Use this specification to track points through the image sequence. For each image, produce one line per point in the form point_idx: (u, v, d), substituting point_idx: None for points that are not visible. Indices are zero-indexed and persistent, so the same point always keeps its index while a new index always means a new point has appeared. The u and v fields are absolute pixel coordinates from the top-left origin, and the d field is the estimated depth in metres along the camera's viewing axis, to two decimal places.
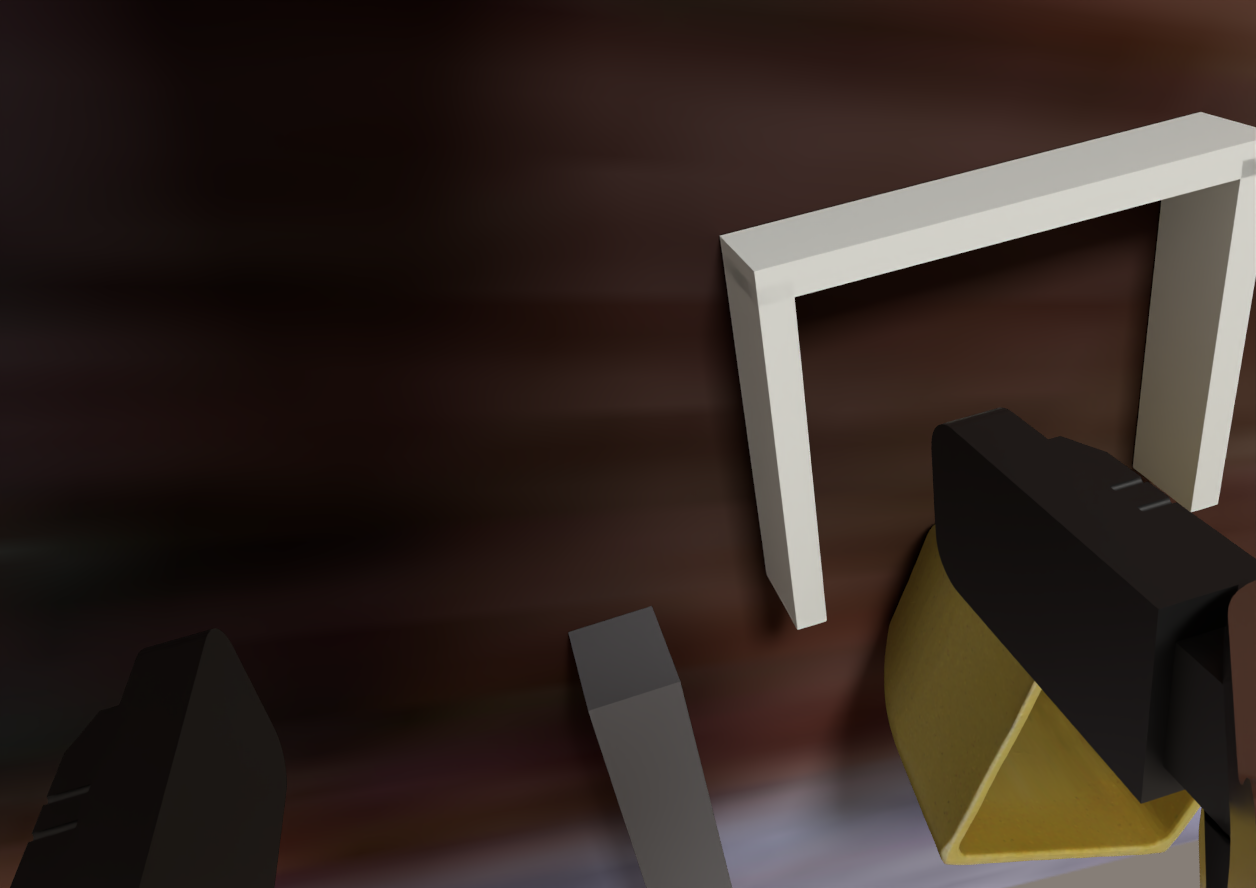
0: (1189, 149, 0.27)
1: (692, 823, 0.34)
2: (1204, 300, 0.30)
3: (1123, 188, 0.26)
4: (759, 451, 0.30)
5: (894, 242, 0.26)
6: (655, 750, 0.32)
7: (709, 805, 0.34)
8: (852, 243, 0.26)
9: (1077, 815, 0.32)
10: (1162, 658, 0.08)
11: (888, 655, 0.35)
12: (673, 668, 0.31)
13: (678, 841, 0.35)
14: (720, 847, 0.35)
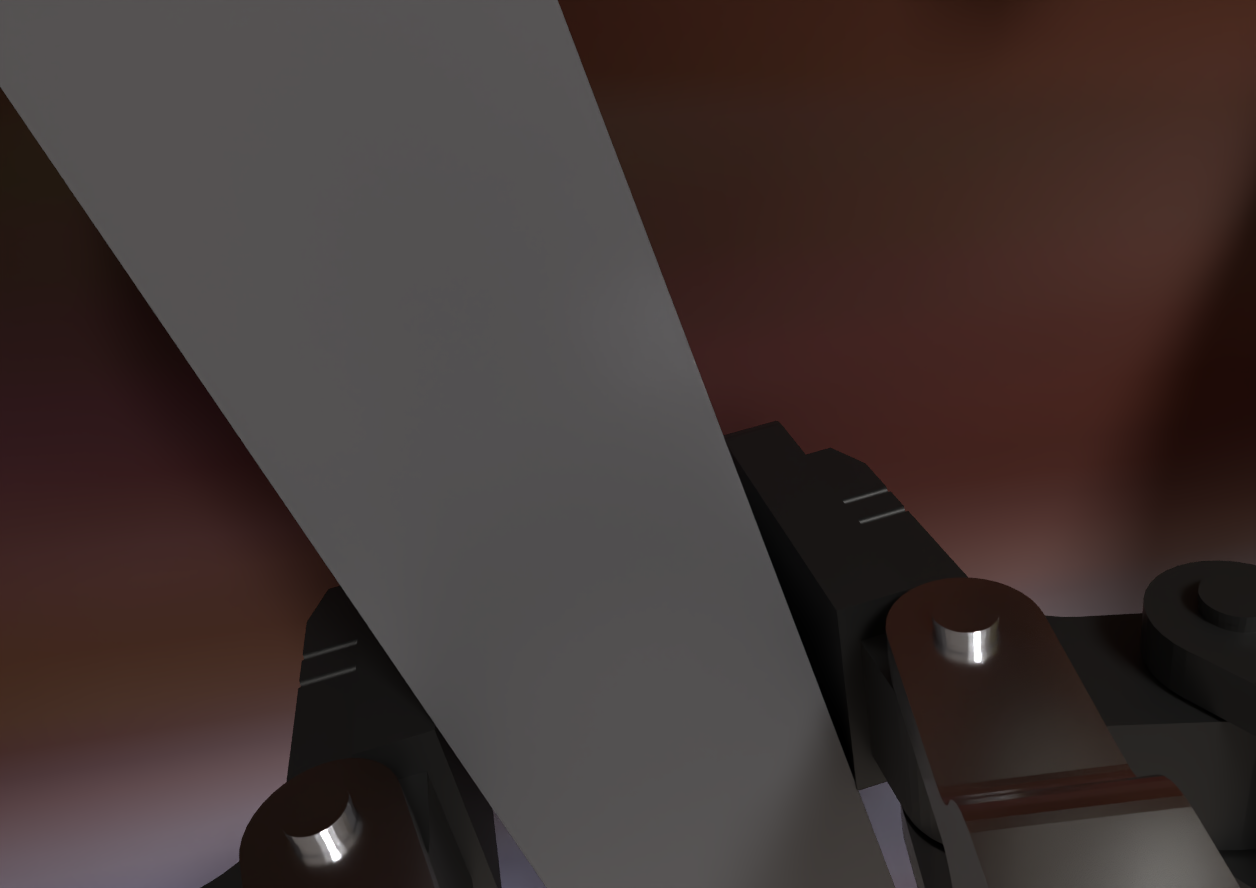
0: None
1: (688, 622, 0.08)
2: None
3: None
4: None
5: None
6: (392, 180, 0.06)
7: (748, 526, 0.08)
8: None
9: None
10: (850, 655, 0.09)
11: None
12: None
13: (648, 712, 0.08)
14: (827, 725, 0.09)
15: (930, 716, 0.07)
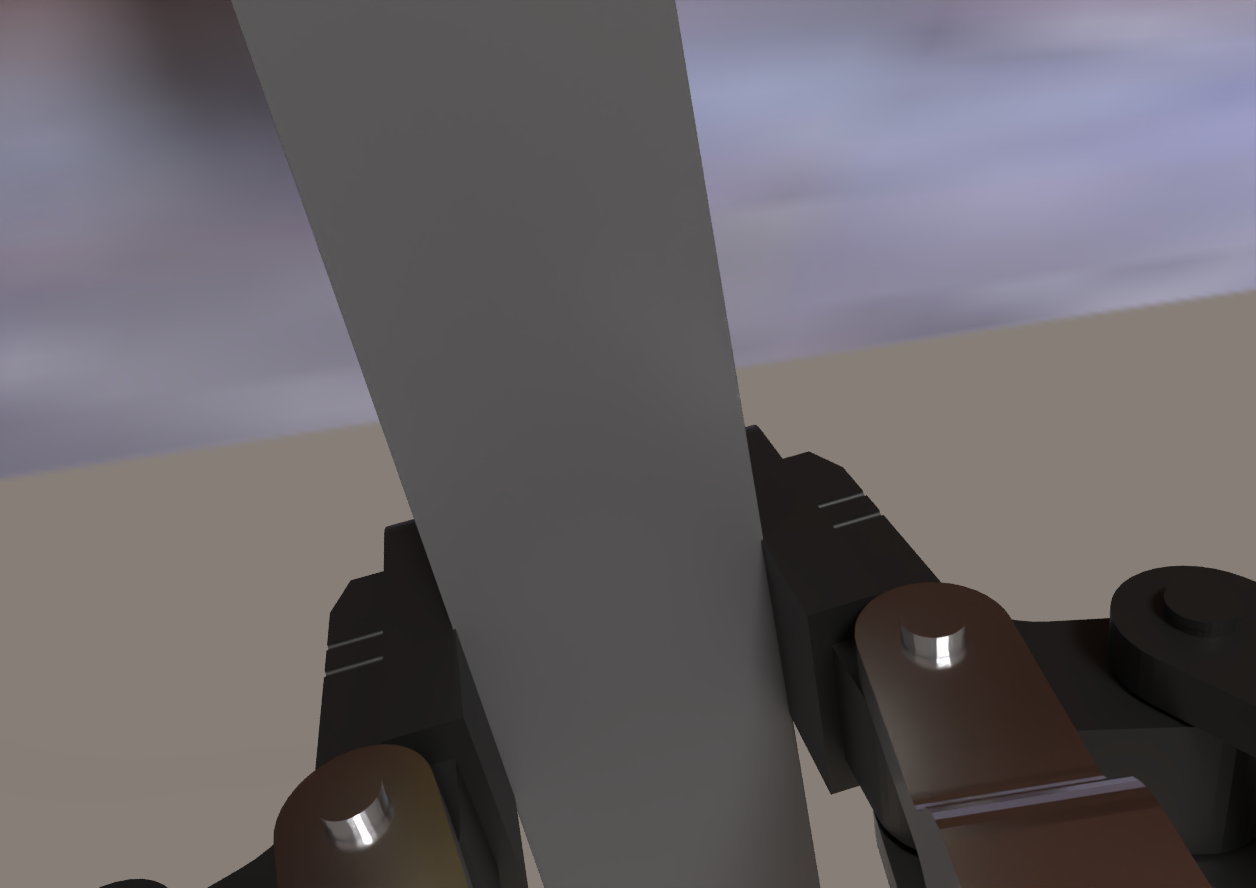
0: None
1: (681, 559, 0.09)
2: None
3: None
4: None
5: None
6: (518, 128, 0.07)
7: (746, 480, 0.09)
8: None
9: None
10: (822, 660, 0.09)
11: None
12: None
13: (631, 637, 0.09)
14: (780, 678, 0.10)
15: (894, 721, 0.07)
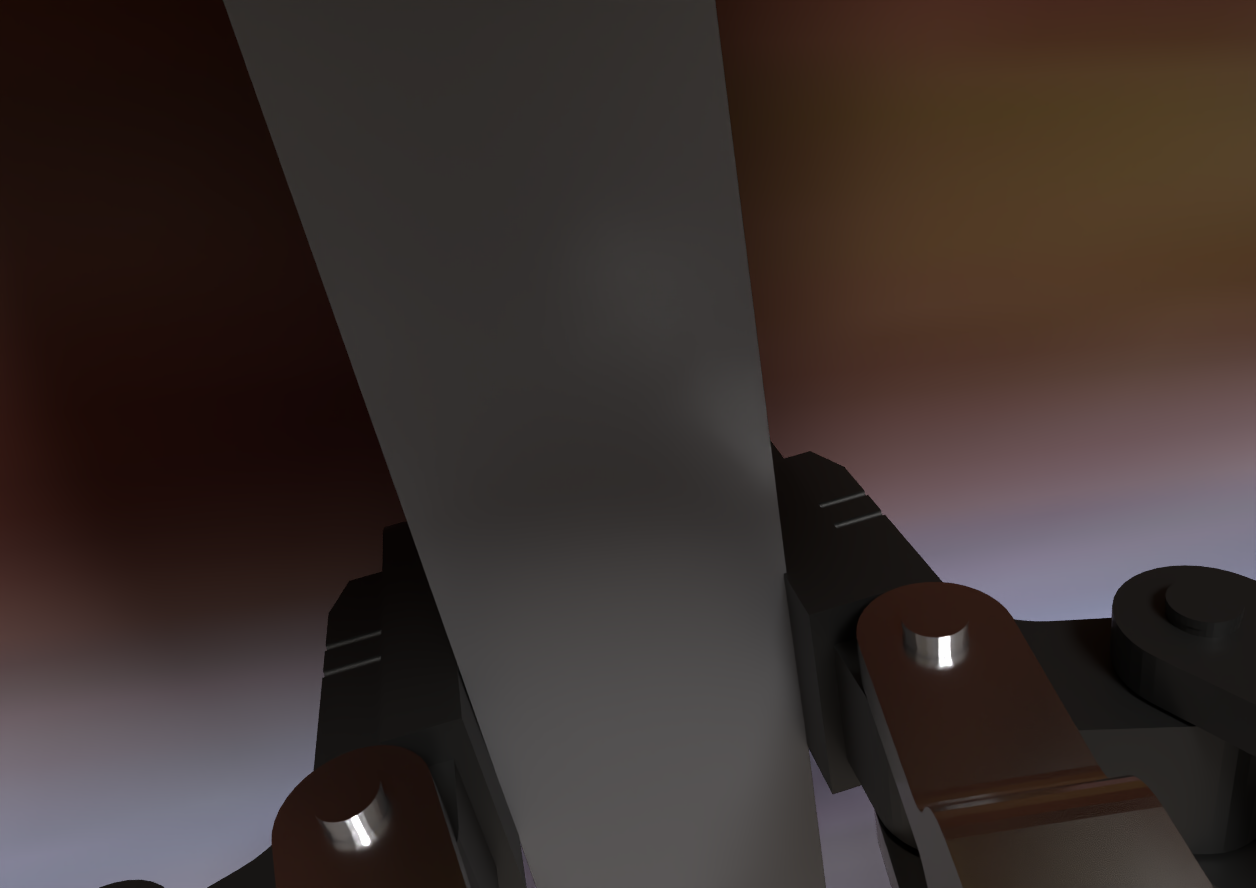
0: None
1: (714, 678, 0.09)
2: None
3: None
4: None
5: None
6: (571, 281, 0.07)
7: (783, 603, 0.09)
8: None
9: None
10: (824, 660, 0.09)
11: None
12: None
13: (662, 749, 0.09)
14: (807, 781, 0.10)
15: (897, 721, 0.07)
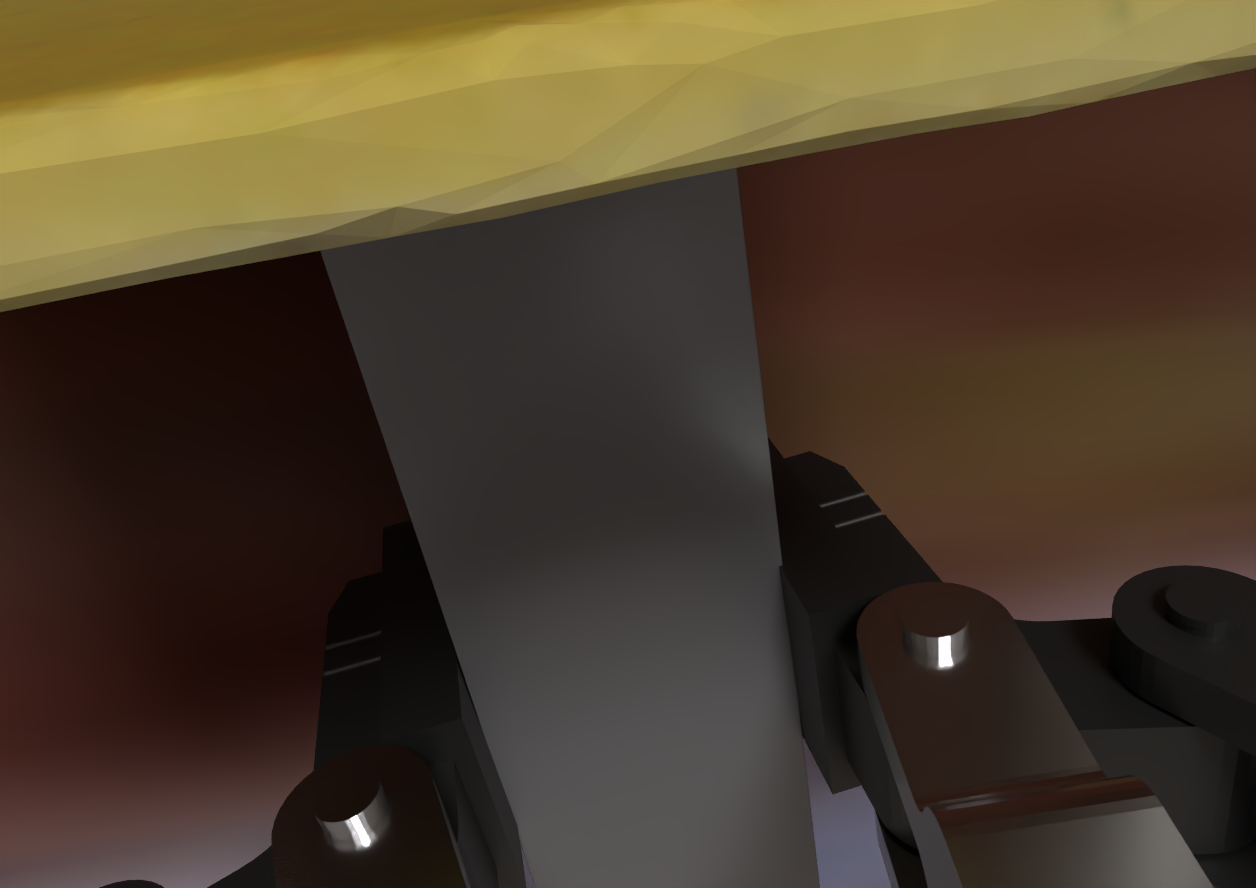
0: None
1: (714, 689, 0.09)
2: None
3: None
4: None
5: None
6: (579, 307, 0.07)
7: (781, 618, 0.09)
8: None
9: None
10: (823, 660, 0.09)
11: None
12: None
13: (662, 759, 0.10)
14: (803, 791, 0.10)
15: (896, 721, 0.07)
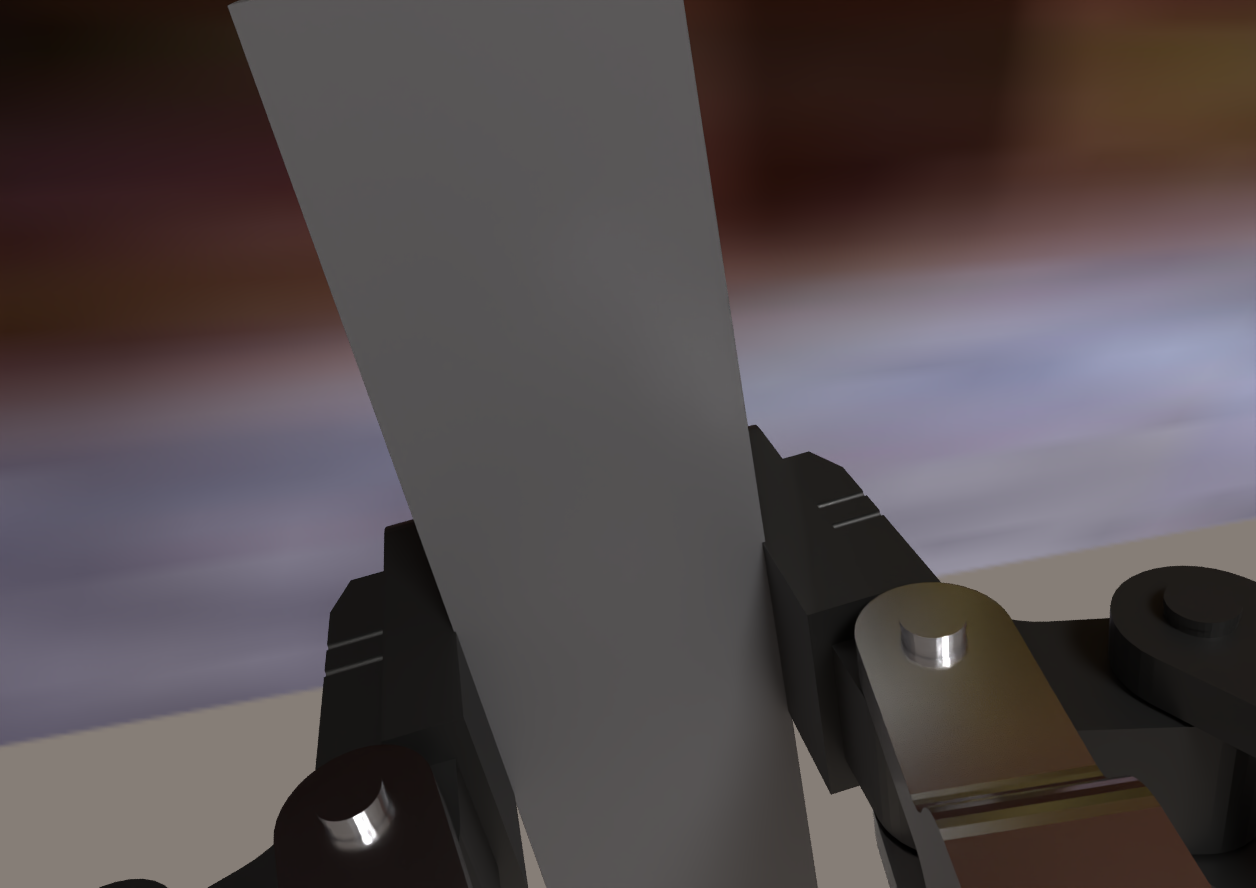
0: None
1: (705, 671, 0.10)
2: None
3: None
4: None
5: None
6: (564, 307, 0.08)
7: (767, 602, 0.10)
8: None
9: None
10: (822, 660, 0.09)
11: None
12: None
13: (657, 739, 0.10)
14: (795, 770, 0.11)
15: (895, 722, 0.07)
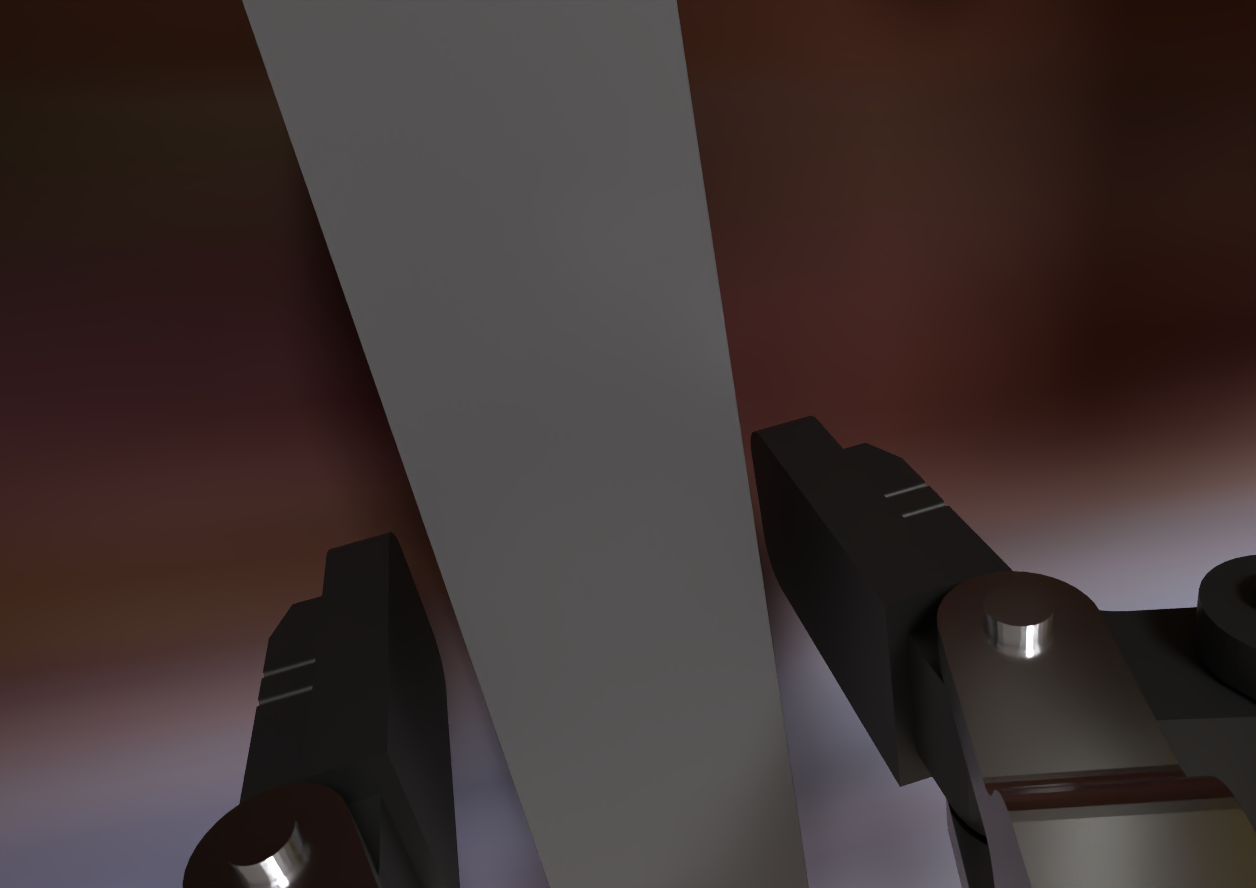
0: None
1: (695, 648, 0.10)
2: None
3: None
4: None
5: None
6: (561, 290, 0.08)
7: (756, 580, 0.10)
8: None
9: None
10: (897, 650, 0.08)
11: None
12: None
13: (648, 716, 0.10)
14: (783, 747, 0.11)
15: (988, 710, 0.07)
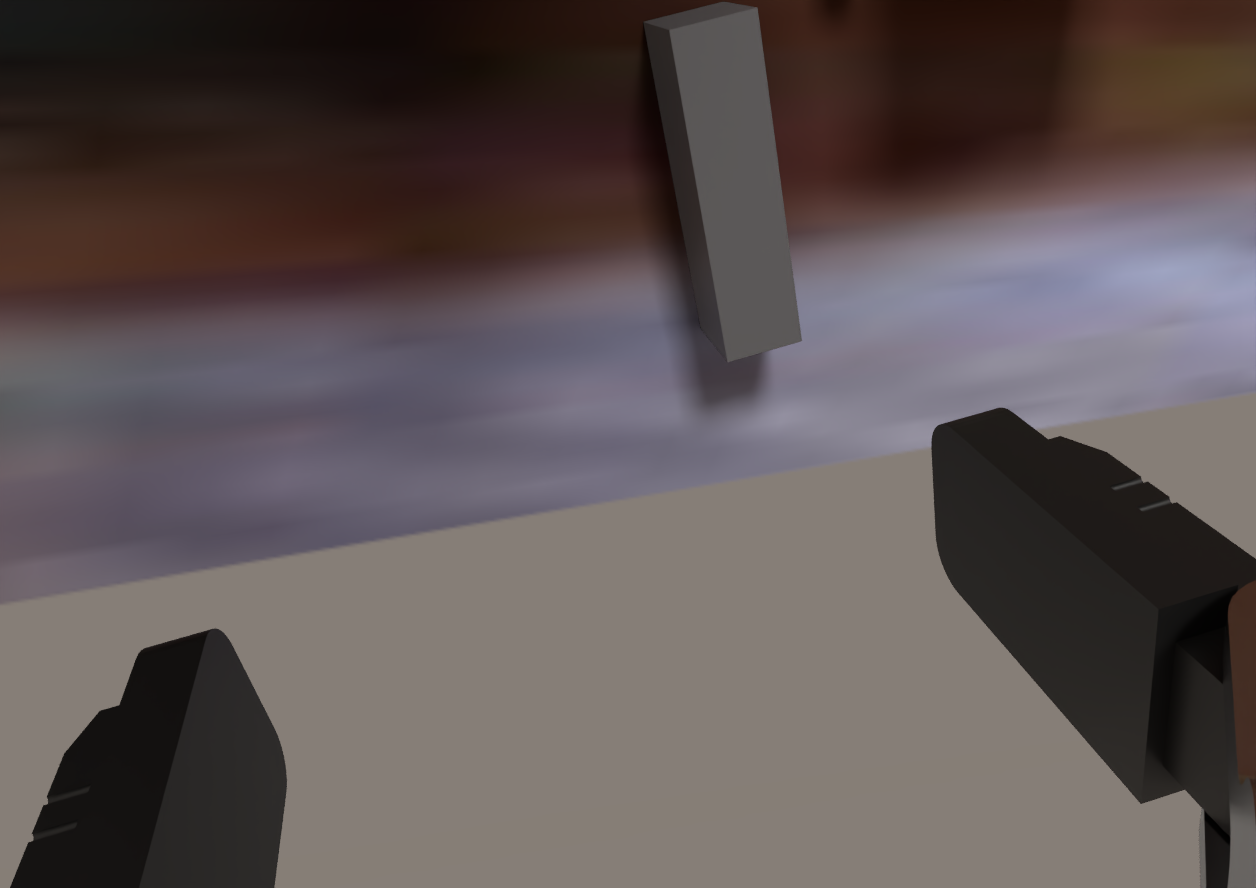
0: None
1: (762, 213, 0.35)
2: None
3: None
4: None
5: None
6: (730, 99, 0.33)
7: (779, 190, 0.35)
8: None
9: None
10: (1162, 658, 0.08)
11: None
12: (749, 6, 0.33)
13: (748, 236, 0.35)
14: (788, 253, 0.36)
15: None
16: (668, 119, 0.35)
